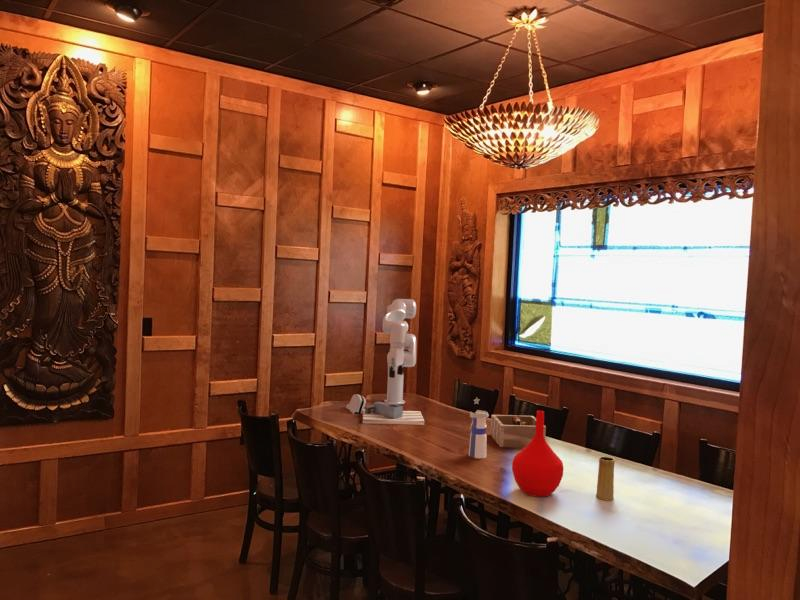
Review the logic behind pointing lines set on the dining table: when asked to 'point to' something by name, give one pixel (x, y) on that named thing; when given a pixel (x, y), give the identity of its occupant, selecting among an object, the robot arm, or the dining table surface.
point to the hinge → (356, 404)
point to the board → (407, 418)
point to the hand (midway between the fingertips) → (396, 375)
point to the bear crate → (513, 430)
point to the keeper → (368, 409)
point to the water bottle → (478, 433)
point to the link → (388, 410)
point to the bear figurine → (517, 421)
